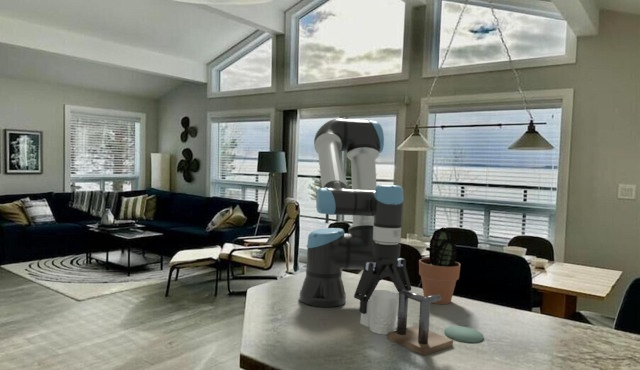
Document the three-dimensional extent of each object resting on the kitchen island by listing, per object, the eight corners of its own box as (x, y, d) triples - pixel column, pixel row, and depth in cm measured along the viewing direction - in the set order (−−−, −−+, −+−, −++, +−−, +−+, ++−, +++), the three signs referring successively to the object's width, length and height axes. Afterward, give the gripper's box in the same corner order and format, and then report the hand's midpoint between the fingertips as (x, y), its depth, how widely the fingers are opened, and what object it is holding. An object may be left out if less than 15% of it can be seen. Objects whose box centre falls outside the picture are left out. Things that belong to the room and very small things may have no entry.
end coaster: (436, 332, 119) (436, 330, 119) (458, 325, 125) (458, 323, 125) (468, 345, 111) (469, 343, 111) (490, 337, 117) (490, 335, 117)
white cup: (396, 337, 114) (398, 299, 114) (365, 333, 116) (367, 296, 115) (396, 326, 122) (398, 291, 122) (368, 323, 124) (370, 288, 123)
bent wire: (394, 332, 113) (397, 289, 113) (412, 327, 118) (415, 286, 117) (423, 345, 106) (426, 299, 106) (441, 339, 110) (444, 295, 110)
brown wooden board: (387, 338, 113) (387, 332, 113) (415, 330, 120) (415, 325, 120) (424, 355, 104) (424, 349, 104) (452, 346, 110) (452, 340, 110)
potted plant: (408, 298, 150) (413, 225, 149) (431, 292, 159) (435, 223, 158) (444, 309, 140) (448, 231, 139) (466, 302, 149) (470, 229, 148)
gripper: (362, 247, 107) (358, 333, 108) (426, 241, 122) (422, 317, 123) (343, 242, 113) (338, 324, 114) (406, 237, 128) (402, 309, 129)
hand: (382, 320), depth 119 cm, fingers open, 12 cm apart
